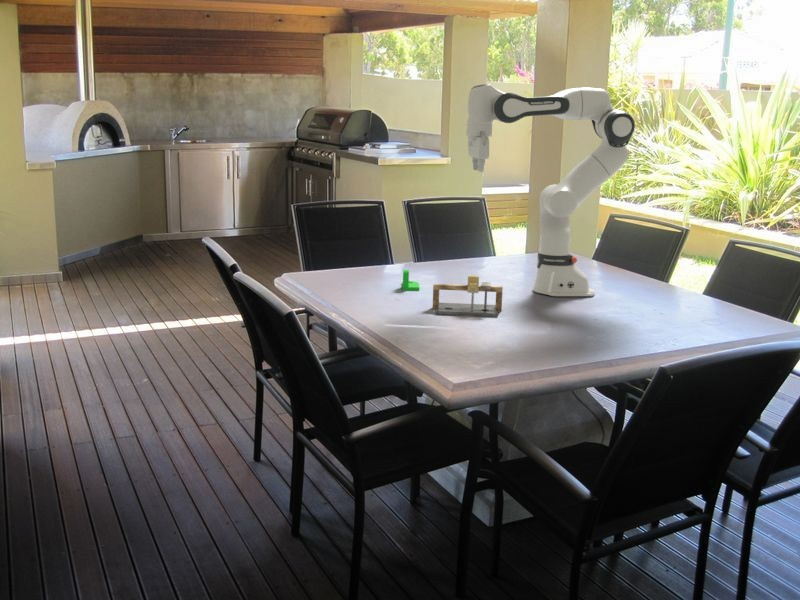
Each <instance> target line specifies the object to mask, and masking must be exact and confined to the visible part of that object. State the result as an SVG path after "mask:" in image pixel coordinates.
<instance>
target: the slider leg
mask: <svg viewBox="0 0 800 600" xmlns="http://www.w3.org/2000/svg"><path fill="white" fill-rule="evenodd" d="M479 282H480V275H478V274H477V275H475V274H468V275H467V285H468V289H467V291H466V293H470V294H471V303H470V304H471V309H473V304H474V299H475V298H474V297H475V294H479V291H478V287H479V285H480V284H479Z"/></svg>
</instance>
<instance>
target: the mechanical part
mask: <svg viewBox="0 0 800 600" xmlns="http://www.w3.org/2000/svg"><path fill="white" fill-rule="evenodd" d="M409 275H410V269H403V271H402V291H411V292H412V291H413V292H414V290H416V291H415V292H417V291H420V283H419V281H413V280H410V279H409V278H410V276H409Z"/></svg>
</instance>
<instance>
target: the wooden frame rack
mask: <svg viewBox="0 0 800 600" xmlns="http://www.w3.org/2000/svg"><path fill="white" fill-rule="evenodd" d="M432 287H433V288H432V291H433V292H432V309H434V310H436V308H437V305H439V303H440V290H442V291H462V292H467V289H468V284H458V283H457V284H456V283H455V284H454V283H433V285H432ZM503 291H504V287H503V285H492V282H488V281H482V282H481V285H480V284H479V287H478V292H484V303H483V304H484V310H486V305H488V304H487V303H488V301H487V299H488V292H489V293H490V292H491V293H495V305H496V306H495V307H496V308H497V312H502V308H503V307H502V306H503V305H502V304H503Z"/></svg>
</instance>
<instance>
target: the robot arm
mask: <svg viewBox="0 0 800 600" xmlns="http://www.w3.org/2000/svg"><path fill="white" fill-rule="evenodd" d="M611 102H612V101H611V96H610V94H609V92H608V91H607V90H606V89H604V88H595V87H574V88H566V89H562V90H559V91H558V92H556V93H554V94H552V95H547V96H534V97H533V96H531V97H527V96H522V95H519V94H517V93H515V92H503V91H501V90H499V89H498V88H496V87H494V86H493V85H492V84H491V83H484V84H478V85H475V86H473V87H472V88H471V89H470V90H469V93H468V100H467V112H468V119H467V121H466V122H467V123H466V125H467V127H466V137H467V145H468V146H467V148H468V156H469V157H471V158H472V159H471V160H472V161H471V162H472V170H473V171H478V172H479V173H484V171H485V170H484V169H485V168H484V167H485V165H486V160H489V158H490V137H493V121H494V120H496V121H499V122H501V123H505V124H512V123H516V122H518V121H519V120H521V119H523V118H526V117H537V116H552V117H556V118H558V119H559V120H565V121H566V120H568V121H581V120H590V121H591V123H592V126H593V127H592V128H593V130H594V132H595V134H596V135H597V136H598V137H599V138H601V139H602V140H601V143H600V144H599V146H598V147H597V148H596V149H595V150H593V151H592V152H591V153H589V154H588V155H587V156H586V157H584V158H583V160H581V161H580V162H579V163H578V164H577V165H575V166H574V167H573V168H572V169H571V171H570V172H568V174H567V175H566V176H565V177H564V178H563V179H562V180H561V181H560V182H559V183H558V184H557V183H554V184H550V185H547V186H545V188H543V190H542V191H541V192H540V195H539V229H540V230H539V232H540V233H539V246H538V247H539V249H538V253H537V257H536V268H537V270H536V271H537V272H536V275H535V280H534V284H533V286H532V287H533V288H532V291H533V292H535V293H537V294H543V295H548V296H551V297H593V296H595V290H594V288H591V287H590V284H589V278H588V276H587V275H586V274H585V273H584V272H583V271H582V270H581V269H580V268H578V267H577V266H576V265H575V264H576V263H577V262H578V258H577V257H575V256H573V255H572V254H570V250H571V237H572V231H571V220H570V218H571V217H570V215H572V214H573V213H574V211H576V210H577V208H579V206H581V205H582V204H583V203H584V202H585V201H586V199H587V198H588V197H589V196H590V195H592V193H593V192H594V191H596V190H597V189H598V188H599V187H600V186H602V185H604V183H605V182H606V181H608V180H609V179H610V178H611V177H613V176H614V175H615V174H616V173H617V172H618V171H619V170H620V169H621V168H622V167H623V165H625V163H626V162H627V161H628V159H629V156H630V155H629V150H628V148H627V146H628V144H629V142H630V140H631V137H632V136H633V134H634V131H635V128H636V124H635V123H636V122H635V119H634V117H633V116H632V115H631V114H630V113H629V112H627V111H624V110H620V109H615V108H613V107H612V103H611Z"/></svg>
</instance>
